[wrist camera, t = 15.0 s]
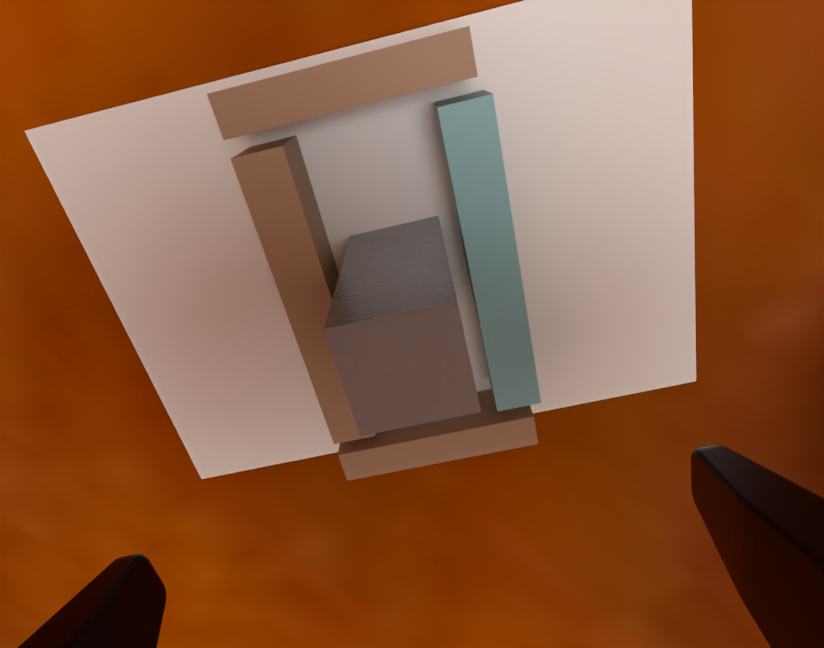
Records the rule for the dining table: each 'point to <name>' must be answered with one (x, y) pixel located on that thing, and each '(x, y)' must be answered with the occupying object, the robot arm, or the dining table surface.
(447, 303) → the grey block
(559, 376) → the seat board
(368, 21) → the dining table surface
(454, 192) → the bar
